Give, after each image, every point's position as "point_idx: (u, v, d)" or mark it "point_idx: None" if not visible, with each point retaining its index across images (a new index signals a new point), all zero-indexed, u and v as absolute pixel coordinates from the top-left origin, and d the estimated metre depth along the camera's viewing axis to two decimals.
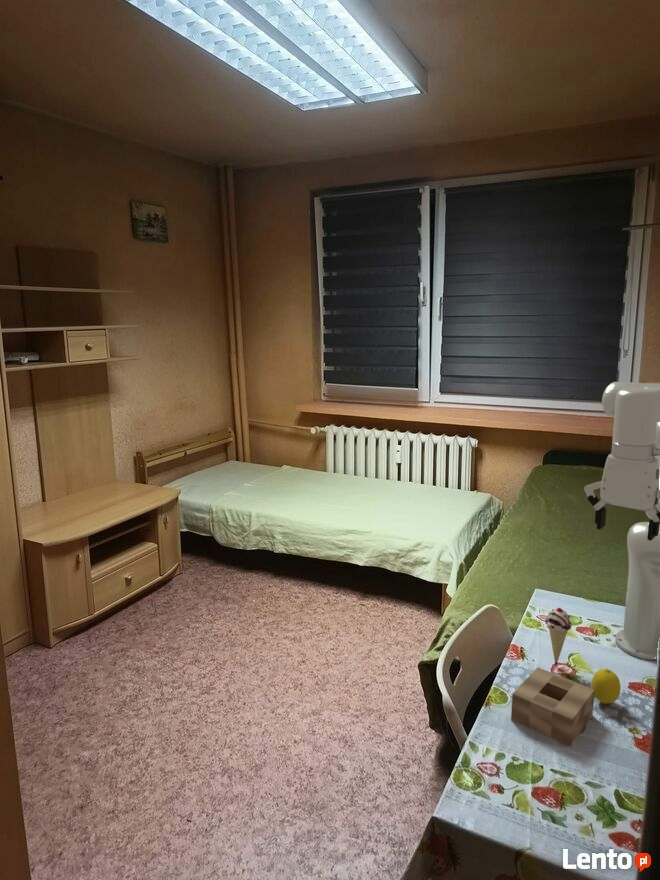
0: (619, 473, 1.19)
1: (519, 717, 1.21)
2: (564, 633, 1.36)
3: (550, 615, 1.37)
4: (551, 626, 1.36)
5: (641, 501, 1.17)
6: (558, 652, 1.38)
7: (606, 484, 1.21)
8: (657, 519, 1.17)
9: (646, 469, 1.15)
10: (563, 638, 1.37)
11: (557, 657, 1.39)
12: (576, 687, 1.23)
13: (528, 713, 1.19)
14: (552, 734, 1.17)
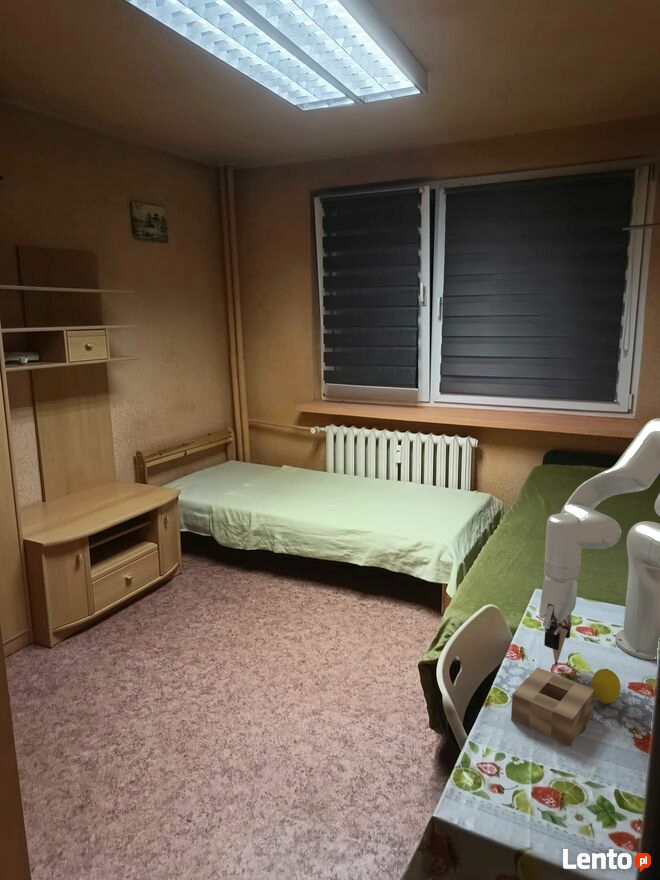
0: (569, 592, 1.33)
1: (519, 717, 1.21)
2: (564, 633, 1.36)
3: None
4: None
5: (573, 604, 1.37)
6: (558, 652, 1.38)
7: (563, 607, 1.32)
8: (570, 618, 1.40)
9: None
10: (563, 638, 1.37)
11: (557, 657, 1.39)
12: (576, 687, 1.23)
13: (528, 713, 1.19)
14: (552, 734, 1.17)
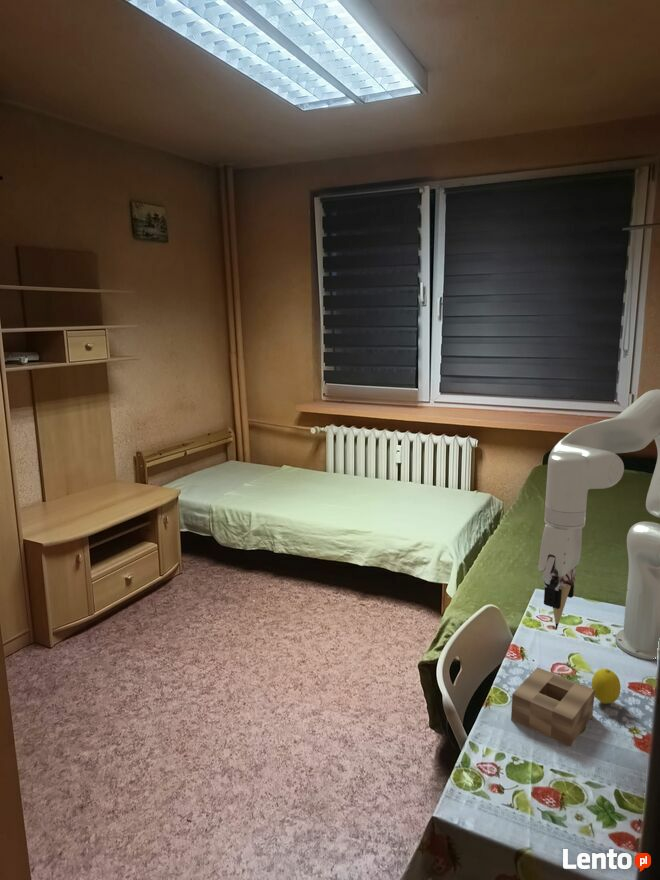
0: (573, 541, 1.16)
1: (519, 717, 1.21)
2: (566, 590, 1.19)
3: None
4: None
5: (578, 558, 1.21)
6: (559, 612, 1.21)
7: (565, 558, 1.15)
8: (574, 575, 1.23)
9: None
10: (565, 595, 1.20)
11: (558, 618, 1.22)
12: (576, 687, 1.23)
13: (528, 713, 1.19)
14: (552, 734, 1.17)
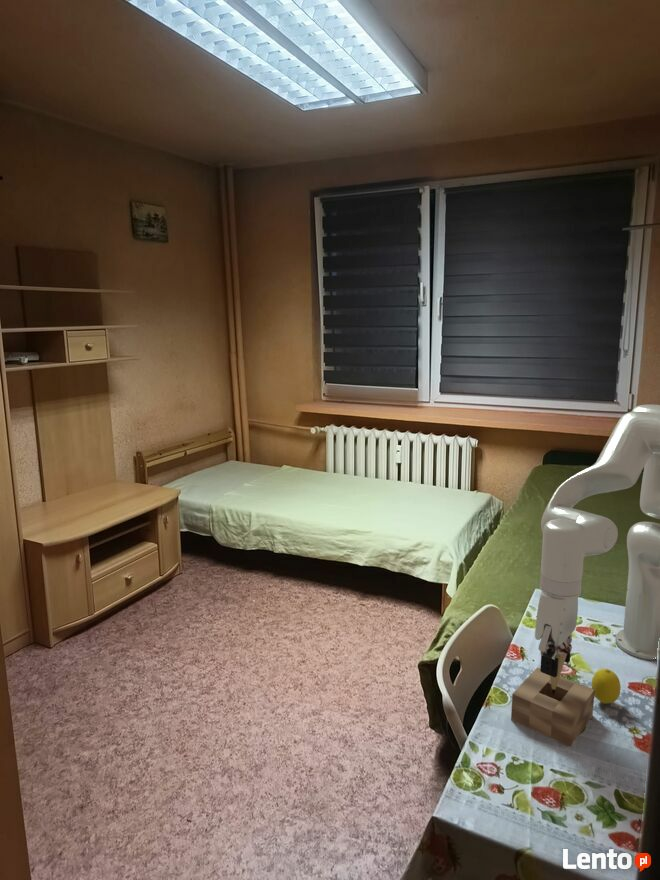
0: (569, 610, 1.15)
1: (519, 717, 1.21)
2: (563, 657, 1.18)
3: None
4: None
5: (574, 624, 1.19)
6: (556, 679, 1.20)
7: (562, 627, 1.14)
8: (570, 640, 1.21)
9: None
10: (562, 663, 1.18)
11: (555, 684, 1.20)
12: (576, 687, 1.23)
13: (528, 713, 1.19)
14: (552, 734, 1.17)
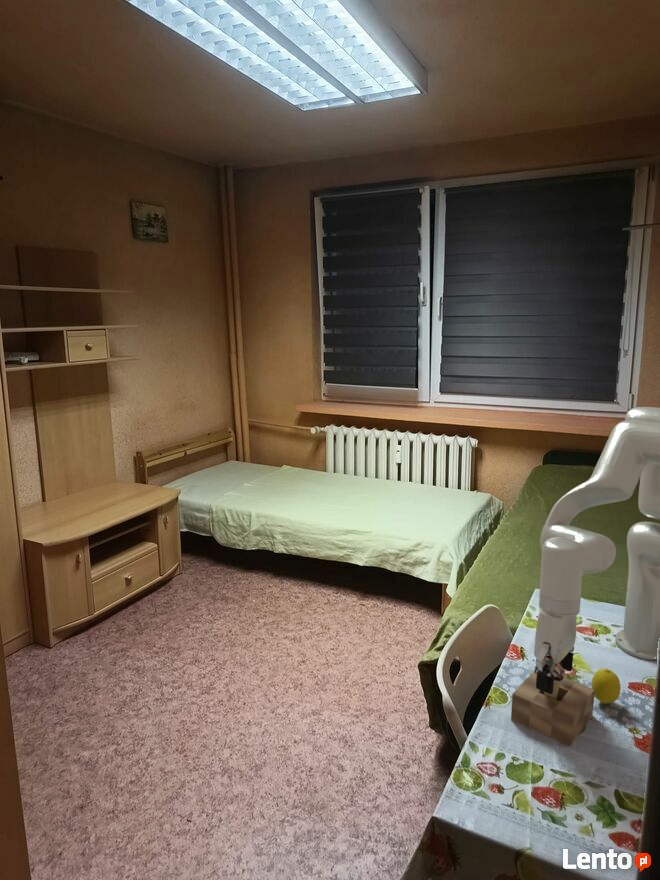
0: (568, 628, 1.16)
1: (519, 717, 1.21)
2: (557, 684, 1.18)
3: None
4: None
5: (573, 641, 1.20)
6: None
7: (561, 645, 1.15)
8: (573, 648, 1.23)
9: None
10: (556, 689, 1.19)
11: None
12: (576, 687, 1.23)
13: (528, 713, 1.19)
14: (552, 734, 1.17)
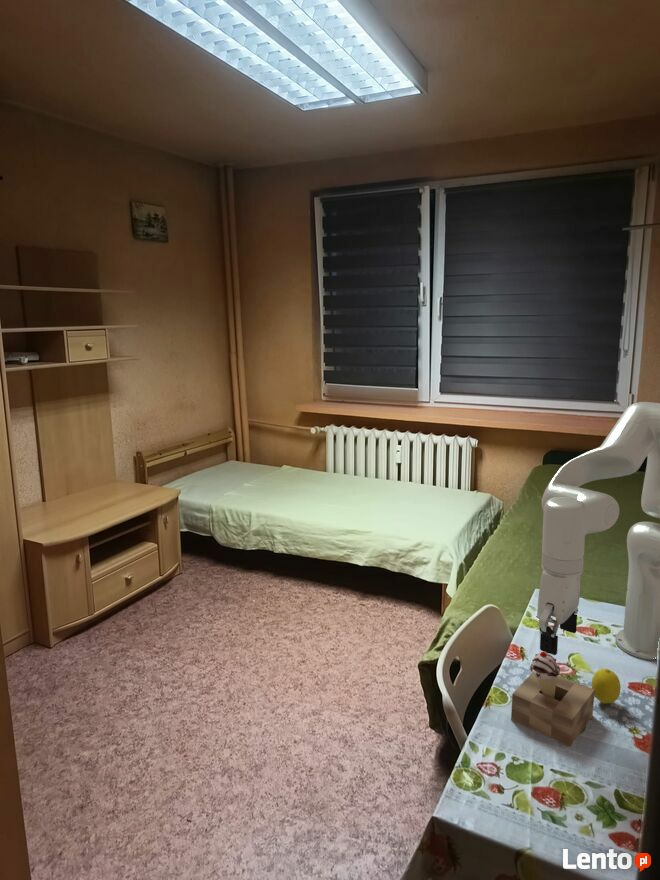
0: (571, 588, 1.14)
1: (519, 717, 1.21)
2: (553, 680, 1.19)
3: (534, 661, 1.20)
4: (536, 675, 1.19)
5: (577, 602, 1.18)
6: None
7: (564, 606, 1.13)
8: (577, 610, 1.22)
9: None
10: (553, 685, 1.20)
11: None
12: (576, 687, 1.23)
13: (528, 713, 1.19)
14: (552, 734, 1.17)
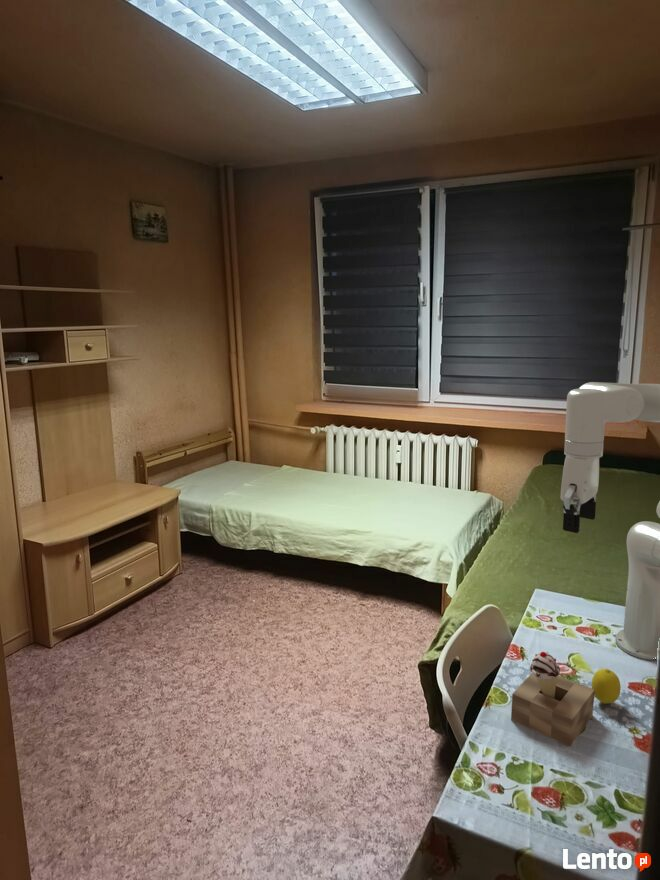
0: (592, 470, 1.25)
1: (519, 717, 1.21)
2: (553, 680, 1.19)
3: (534, 662, 1.20)
4: (536, 675, 1.19)
5: (596, 488, 1.29)
6: None
7: (586, 486, 1.24)
8: (595, 498, 1.32)
9: (598, 458, 1.28)
10: (553, 686, 1.20)
11: None
12: (576, 687, 1.23)
13: (528, 713, 1.19)
14: (552, 734, 1.17)
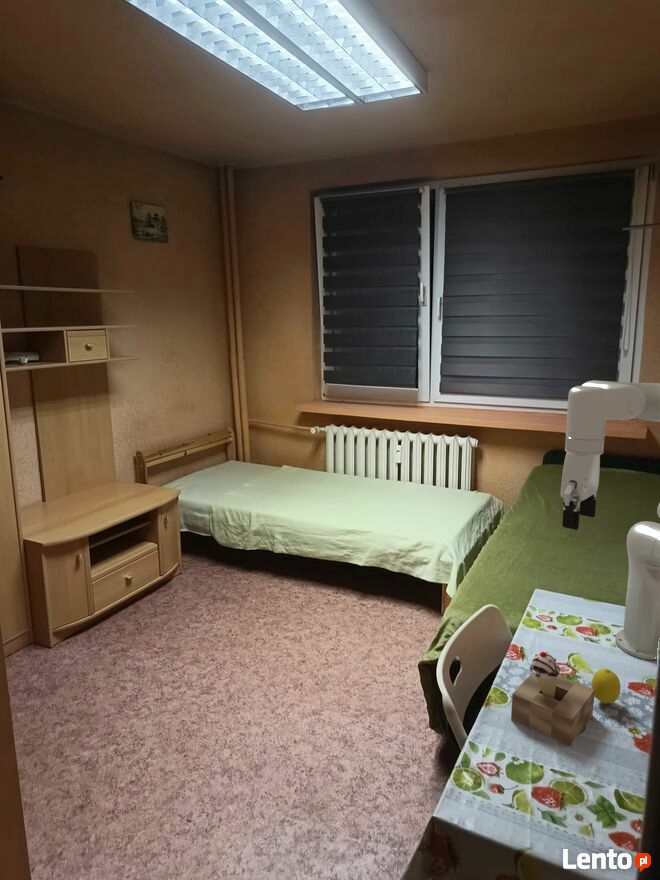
0: (592, 467, 1.25)
1: (519, 717, 1.21)
2: (553, 680, 1.19)
3: (534, 662, 1.20)
4: (536, 675, 1.19)
5: (596, 485, 1.29)
6: None
7: (586, 482, 1.24)
8: (595, 496, 1.33)
9: (599, 455, 1.28)
10: (553, 686, 1.20)
11: None
12: (576, 687, 1.23)
13: (528, 713, 1.19)
14: (552, 734, 1.17)
